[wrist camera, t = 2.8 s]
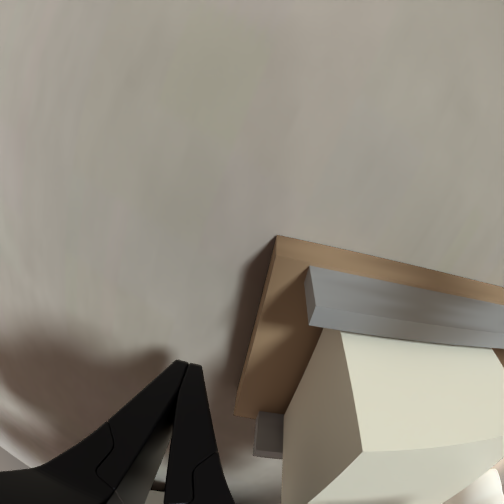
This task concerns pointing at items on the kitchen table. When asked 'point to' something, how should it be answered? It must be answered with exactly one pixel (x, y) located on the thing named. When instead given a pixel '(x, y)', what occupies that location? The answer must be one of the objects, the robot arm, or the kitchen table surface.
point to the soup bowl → (155, 497)
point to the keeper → (391, 421)
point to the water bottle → (481, 491)
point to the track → (350, 320)
